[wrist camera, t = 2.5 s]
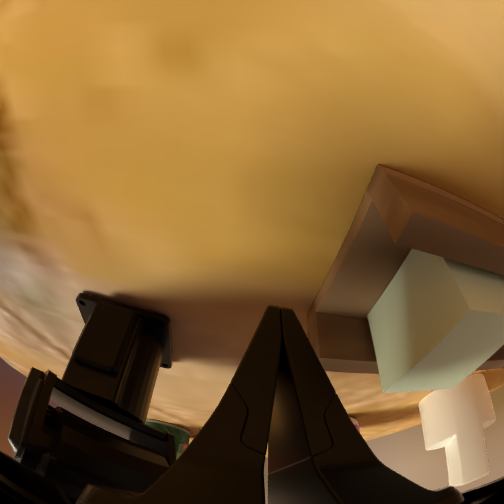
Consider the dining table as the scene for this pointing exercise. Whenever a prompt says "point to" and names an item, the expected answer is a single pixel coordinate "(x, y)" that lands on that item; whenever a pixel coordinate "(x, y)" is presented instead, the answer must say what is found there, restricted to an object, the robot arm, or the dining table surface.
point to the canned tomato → (179, 433)
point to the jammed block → (436, 323)
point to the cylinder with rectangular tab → (459, 427)
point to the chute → (395, 261)
